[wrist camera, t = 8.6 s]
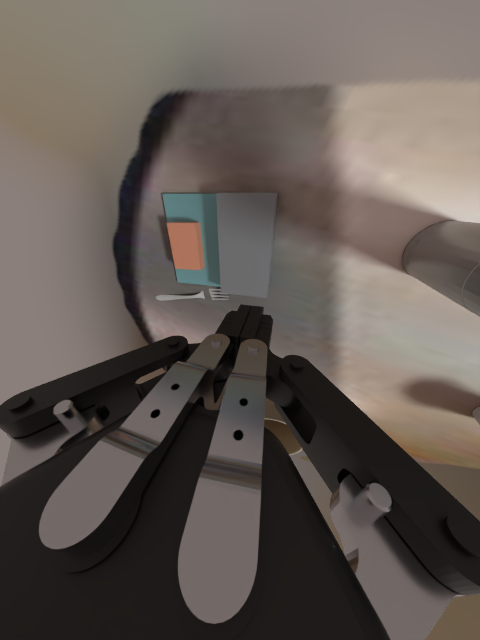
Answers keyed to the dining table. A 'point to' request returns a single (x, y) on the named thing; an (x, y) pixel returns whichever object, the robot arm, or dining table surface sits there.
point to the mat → (205, 213)
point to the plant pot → (280, 428)
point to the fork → (193, 296)
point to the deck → (246, 241)
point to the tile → (186, 245)
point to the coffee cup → (476, 414)
